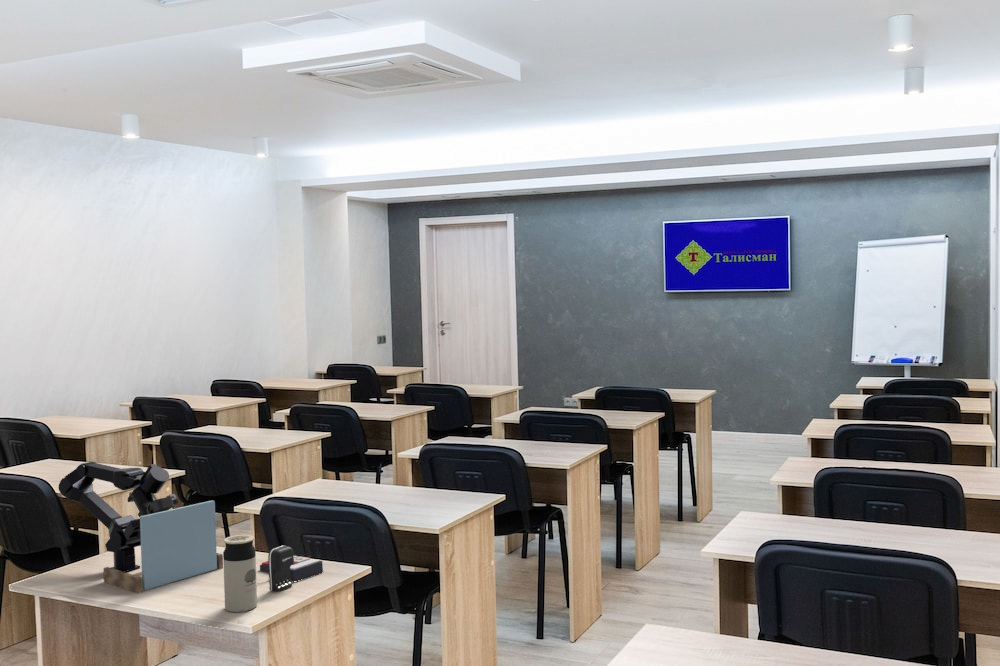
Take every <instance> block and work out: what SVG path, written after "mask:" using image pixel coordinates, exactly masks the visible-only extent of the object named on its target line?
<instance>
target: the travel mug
mask: <svg viewBox="0 0 1000 666" xmlns="http://www.w3.org/2000/svg"><path fill="white" fill-rule="evenodd" d="M254 540H255V536H253V535H251V534H250V535H249V534H238V535H231V536H227V537H226V538H224V540H223V542H224V544H225V548H224V550H223V552H222V553H223V586H224V587H223V590H224V609H225V610H226V611H228V612H232V613H242V612H243V611H244V612H248V611H251V610H253V609H255V608H256V607H257V606H258V591H257V589H258V588H257V587H258V586H257V585H258V584H257V562H256V561H257V558H256V556H257V555H256V554H257V553H256V547H255V546H254V545H253V543H254Z"/></svg>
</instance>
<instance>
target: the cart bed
mask: <svg viewBox="0 0 1000 666" xmlns="http://www.w3.org/2000/svg"><path fill="white" fill-rule="evenodd" d="M216 554H217V569H215V570H212V571H208V572H205V573H201V574H198V575H195V576H191V577H188V578H184V579H181V580H178V581H174V582H171V583H167V584H164V585H161V586H157V587H154V588H150V589H147V590H143V589H142V571H139V572H136V573H133V574H132V573H130V572H127V571H126V572H123V571H119V570H116V569H113V568H111V567H109V566H106V567H104V568H103V583H105V584H108V585H112V586H115V587H117V588H120V589H124V590H126V591H130V592H133V593H137V594H140V593H143V592H147V591H150V590H152V589H156V588H159V587H162V586H167V585H169V584H173V583H177V582H181V581H183V580H187V579H190V578H194V577H197V576H200V575H203V574H207V573H211V572H213V571H217V570H221V569H224V561H223V554H222V553H219V552H216Z"/></svg>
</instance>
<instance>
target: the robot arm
mask: <svg viewBox="0 0 1000 666" xmlns="http://www.w3.org/2000/svg"><path fill="white" fill-rule="evenodd" d="M169 479H170V473H169V472H168V471H167V470H166V469H164V468H162V467H160V466H158V465H157V464H156V463H153V464H149V465H148V467H147V469H146V470H145V471H144V470H143V468H141V467H123V468H121V467H114V466H110V465H106V464H101V463H98V462H96V461H88V462H83V463H81V464H79V465H78V466H77V467H76V468H75V469H74V470H73V471H71V472H69V473H68V474H66V475H65V476H64V477H63V478H62V479H61V480H60V481H59V484H58V491H59V493H60V494H61V495H62V496H63V497H64V498H66V499H67V500H70V501H74V502H78V503H80V504H81V505H82V506H83V507H84V508H86V509H87V510H88V512H90V514H92V515H93V516H94V517H95V518H97V520H98V521H99V522H100V523H102V525H104V527H106V528H107V529H108V537H109V539H108V540H107V541H106V543H105V550H106V551H107V552H109V553H110V552H111V553H113V566H111V567H110V568H113V569H116V570H119V571H123V572H126V573H127V572H130V571H132V570H137V569H140V568H141V565H137V564H136V551H135V548H137V547H141V534H140V516H144V515H149V514H153V513H158V512H162V511H167V510H171V509H174V508H175V506H176V505H178V504H179V499H178V496H177V495H176V494H175V493H172V494H168V495H167V496H165V497H161V498H157V497H156V495H155V494H158V493H160V492H161V490H162V489H163V488H164V486H165V484H166V483H167V482H168V480H169ZM95 480H100V481H104V482H108V483H112V485H113V487H114V488H117V489H119V490H121V491H127V490H131V489H133V490H132V491H131V492H128V497H127V500H126V501H127V502H128V503H132V502H134V504H135V506H136V508H137V510H138V513H137V516H138V517H139V518H135V517H134V516H133V515H131V514H129V515H125V516H122V515H121V514H119V512H118V511H116V510H115V509H114V508H113V507H112V506H111V505H110V504H109V503H107V502H106V501H105V500H104V499H103V498H102V497H101V496H100V495H99V494H97V493H96V491H94V486H93V482H94V481H95Z"/></svg>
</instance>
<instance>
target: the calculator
mask: <svg viewBox="0 0 1000 666" xmlns="http://www.w3.org/2000/svg"><path fill="white" fill-rule="evenodd" d="M259 571H260V572H265V573H268V574H269V566H268V560H266V561H263V562H261V564H259ZM322 572H323V573H324V566H323V560H320V559H316V558H315V559H314V558H311V557H306V556H298V555H294V564H293V565H291V567H290V578H291V581H293V582H292V583H295V582H294V581H297V582H299V581H298V580H300V581H302V580H301V579H303V580H305V579H304V578H306V579H308V578H307V577H309V578H311V576H312V577H315V576H317V575H320V574H323V573H322ZM319 573H320V574H319ZM316 574H317V575H316ZM314 575H315V576H314Z"/></svg>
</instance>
